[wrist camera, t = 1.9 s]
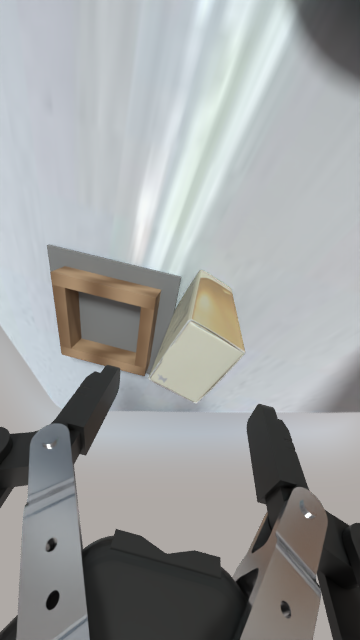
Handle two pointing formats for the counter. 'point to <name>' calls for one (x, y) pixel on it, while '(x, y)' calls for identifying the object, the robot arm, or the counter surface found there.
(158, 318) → the mat
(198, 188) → the counter surface
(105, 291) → the collar
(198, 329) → the skincare box
